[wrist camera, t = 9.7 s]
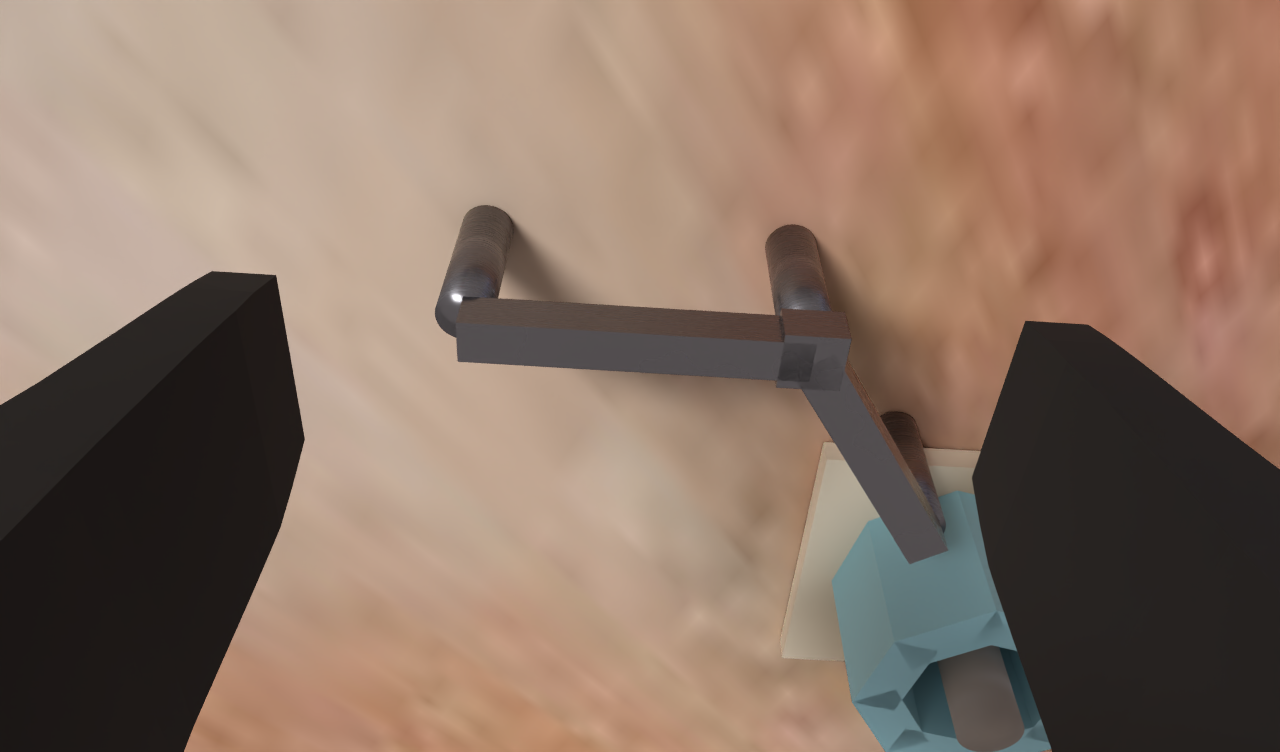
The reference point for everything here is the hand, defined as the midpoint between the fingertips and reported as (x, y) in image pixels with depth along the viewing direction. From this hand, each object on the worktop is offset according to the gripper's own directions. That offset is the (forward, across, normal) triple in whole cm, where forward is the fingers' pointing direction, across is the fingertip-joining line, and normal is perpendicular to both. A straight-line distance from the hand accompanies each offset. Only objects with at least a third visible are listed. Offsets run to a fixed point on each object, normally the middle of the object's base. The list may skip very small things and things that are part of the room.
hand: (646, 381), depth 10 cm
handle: (+10, -2, +6) cm, 12 cm away
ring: (+9, -8, +12) cm, 18 cm away
